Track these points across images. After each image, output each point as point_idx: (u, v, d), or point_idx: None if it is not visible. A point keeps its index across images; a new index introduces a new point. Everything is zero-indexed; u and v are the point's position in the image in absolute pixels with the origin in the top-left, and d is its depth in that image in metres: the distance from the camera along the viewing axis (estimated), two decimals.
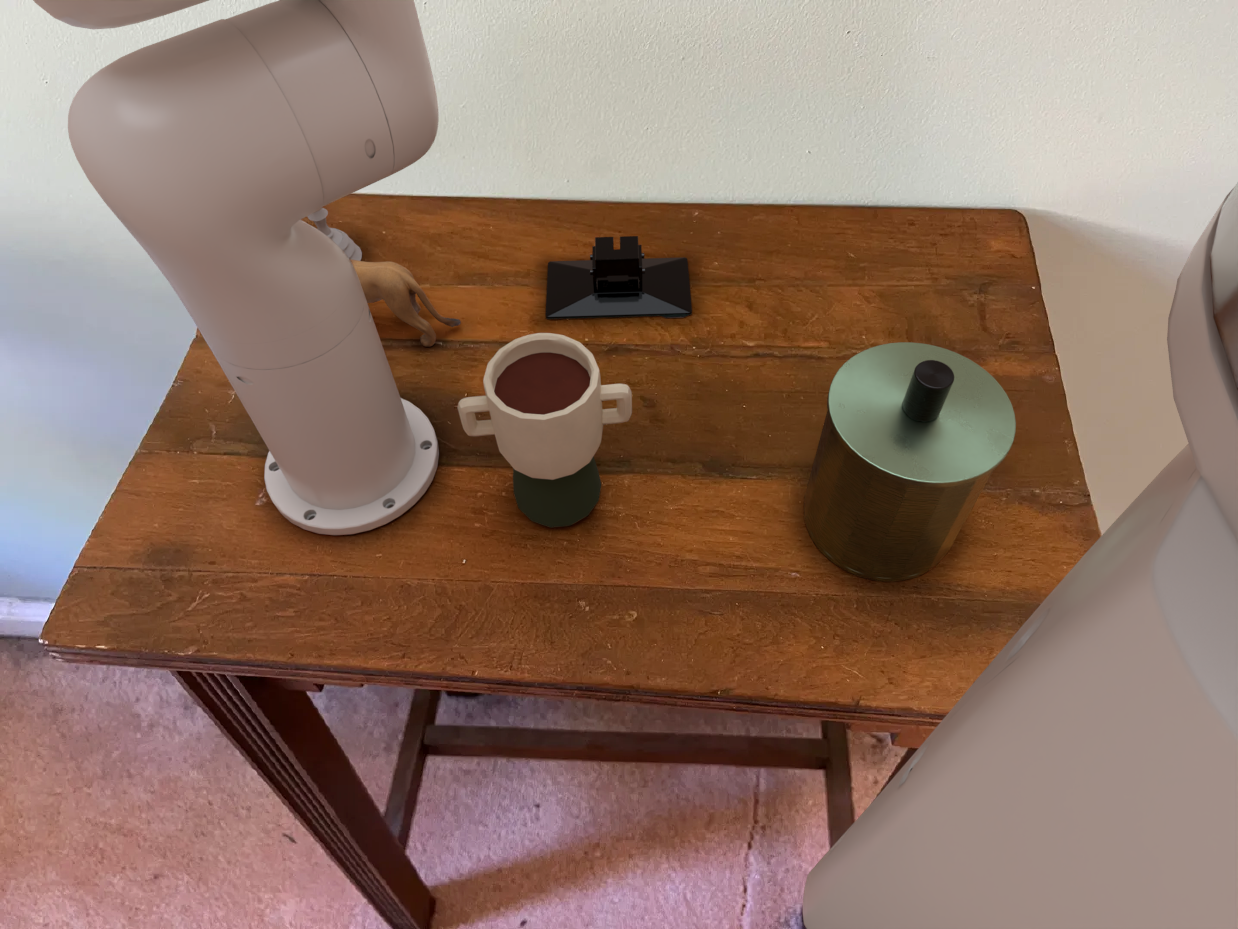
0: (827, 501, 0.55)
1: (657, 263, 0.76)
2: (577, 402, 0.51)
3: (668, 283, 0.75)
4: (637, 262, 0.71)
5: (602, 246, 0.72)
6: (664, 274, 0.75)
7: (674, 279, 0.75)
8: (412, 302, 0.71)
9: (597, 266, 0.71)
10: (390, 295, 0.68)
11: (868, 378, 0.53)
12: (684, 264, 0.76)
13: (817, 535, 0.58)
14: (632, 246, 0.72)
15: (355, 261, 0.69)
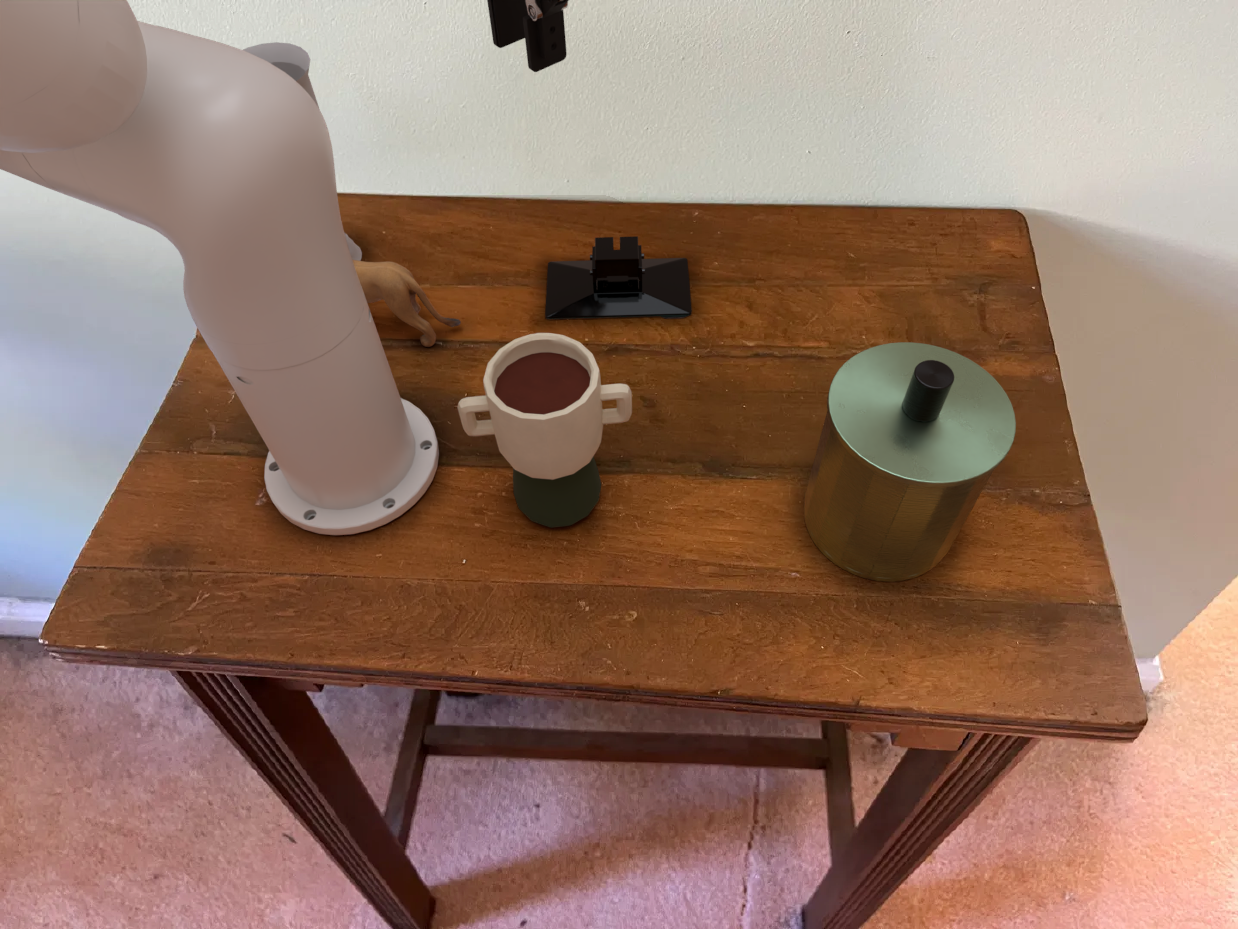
0: (827, 501, 0.55)
1: (657, 263, 0.76)
2: (577, 402, 0.51)
3: (668, 283, 0.75)
4: (637, 262, 0.71)
5: (602, 246, 0.72)
6: (664, 274, 0.75)
7: (674, 279, 0.75)
8: (412, 302, 0.71)
9: (597, 266, 0.71)
10: (390, 295, 0.68)
11: (868, 378, 0.53)
12: (684, 264, 0.76)
13: (817, 535, 0.58)
14: (632, 246, 0.72)
15: (355, 261, 0.69)
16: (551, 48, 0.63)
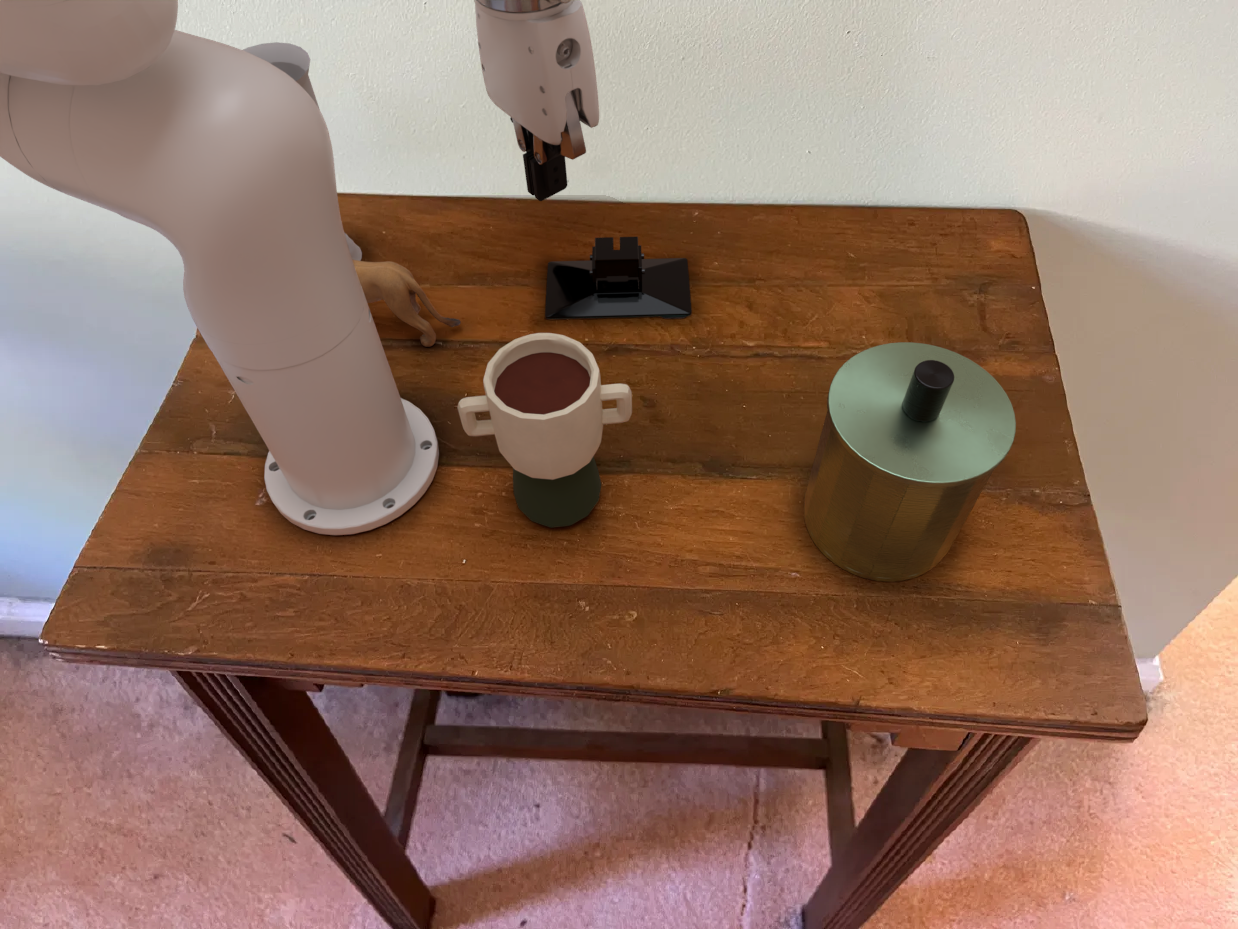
0: (827, 501, 0.55)
1: (657, 263, 0.76)
2: (577, 402, 0.51)
3: (668, 283, 0.75)
4: (637, 263, 0.71)
5: (602, 246, 0.72)
6: (664, 275, 0.75)
7: (674, 280, 0.75)
8: (412, 302, 0.71)
9: (597, 266, 0.71)
10: (390, 295, 0.68)
11: (868, 378, 0.53)
12: (684, 265, 0.76)
13: (817, 535, 0.58)
14: (631, 246, 0.72)
15: (355, 261, 0.69)
16: (554, 183, 0.74)
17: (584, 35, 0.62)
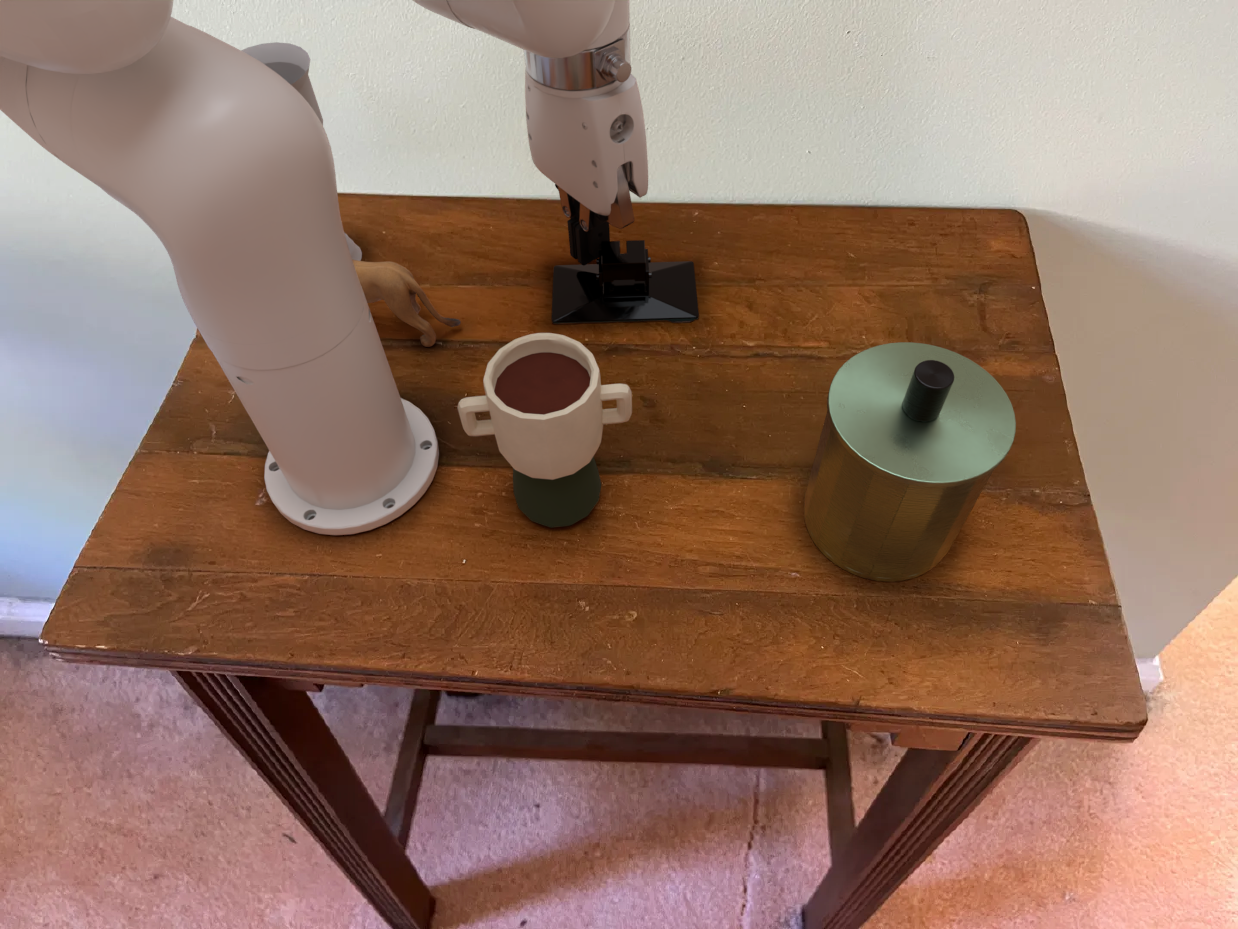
0: (827, 501, 0.55)
1: (664, 267, 0.76)
2: (577, 402, 0.51)
3: (674, 287, 0.74)
4: (644, 266, 0.71)
5: (609, 250, 0.71)
6: (670, 278, 0.75)
7: (680, 283, 0.75)
8: (412, 302, 0.71)
9: (603, 270, 0.71)
10: (390, 295, 0.68)
11: (868, 378, 0.53)
12: (690, 268, 0.76)
13: (817, 535, 0.58)
14: (638, 250, 0.71)
15: (355, 261, 0.69)
16: (598, 248, 0.74)
17: (637, 111, 0.62)
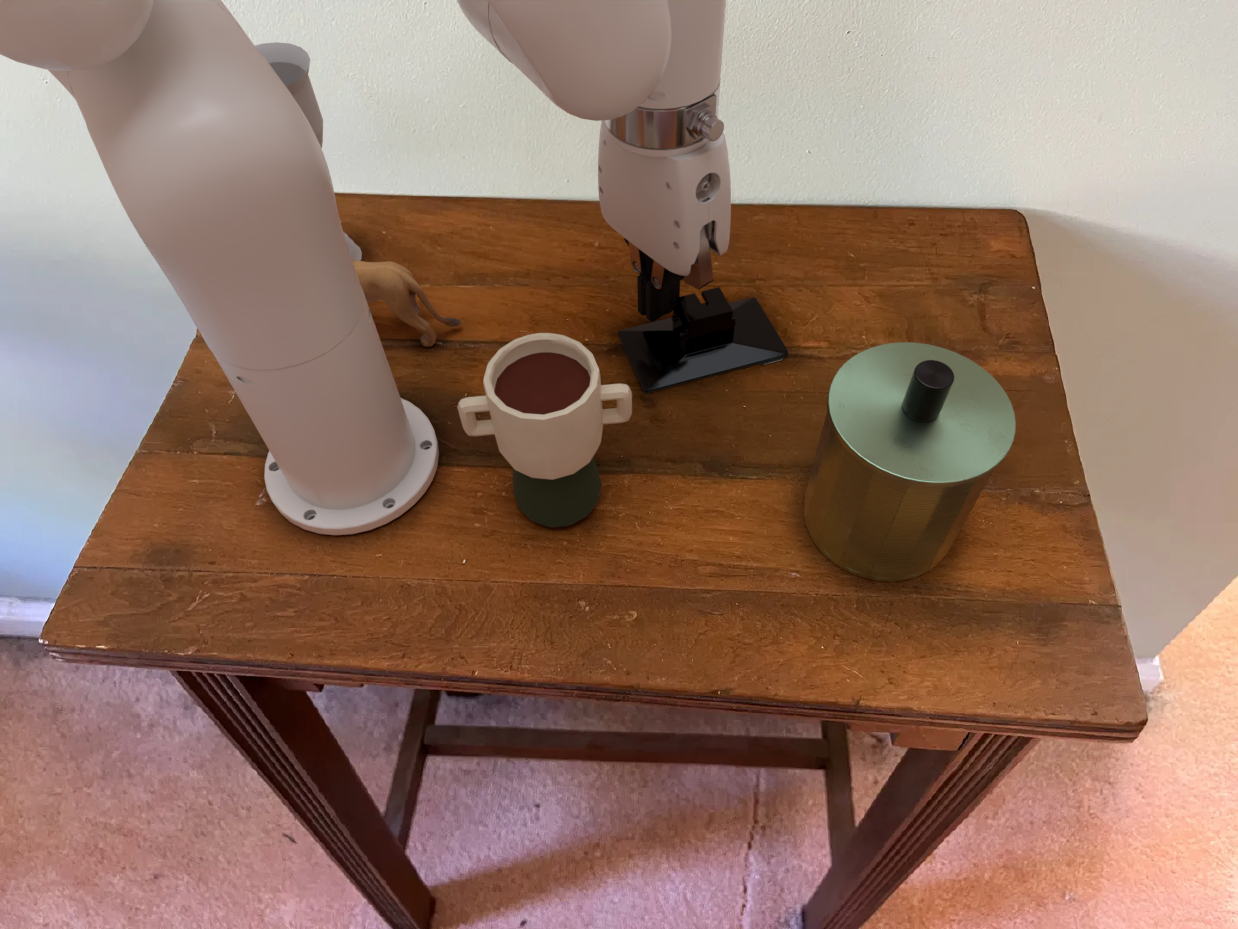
0: (827, 501, 0.55)
1: None
2: (577, 402, 0.51)
3: (751, 327, 0.71)
4: (731, 314, 0.67)
5: (689, 305, 0.67)
6: (743, 319, 0.72)
7: (755, 322, 0.72)
8: (412, 302, 0.71)
9: (691, 327, 0.67)
10: (390, 295, 0.68)
11: (868, 378, 0.53)
12: (756, 304, 0.73)
13: (817, 535, 0.58)
14: (719, 299, 0.68)
15: (355, 261, 0.69)
16: (669, 304, 0.69)
17: (725, 168, 0.58)
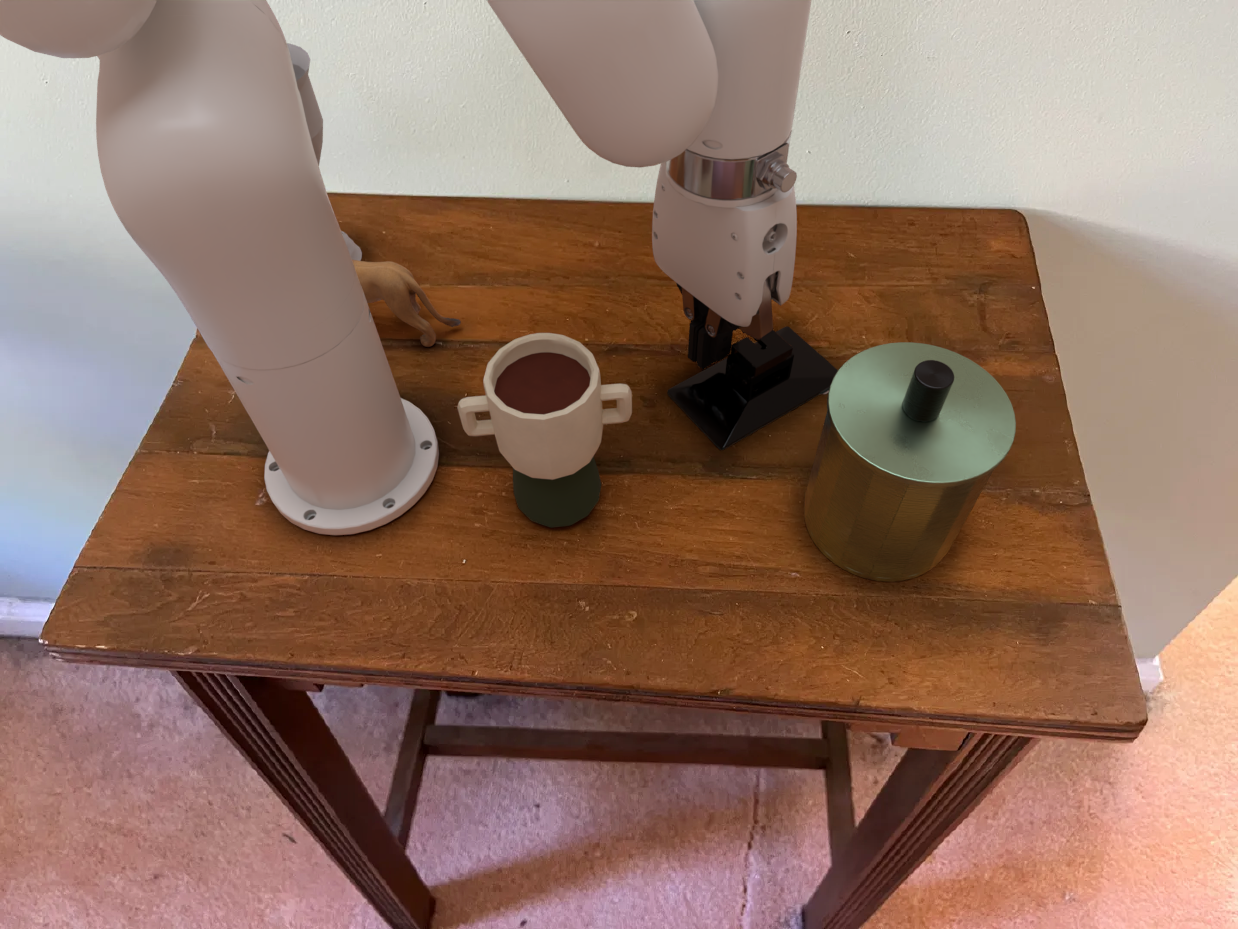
0: (827, 501, 0.55)
1: None
2: (577, 402, 0.51)
3: (799, 358, 0.69)
4: (791, 352, 0.65)
5: (748, 350, 0.64)
6: None
7: (800, 352, 0.70)
8: (412, 302, 0.71)
9: (756, 373, 0.64)
10: (390, 295, 0.68)
11: (868, 378, 0.53)
12: (792, 333, 0.71)
13: (817, 535, 0.58)
14: (774, 338, 0.65)
15: (355, 261, 0.69)
16: (721, 352, 0.66)
17: (793, 218, 0.55)
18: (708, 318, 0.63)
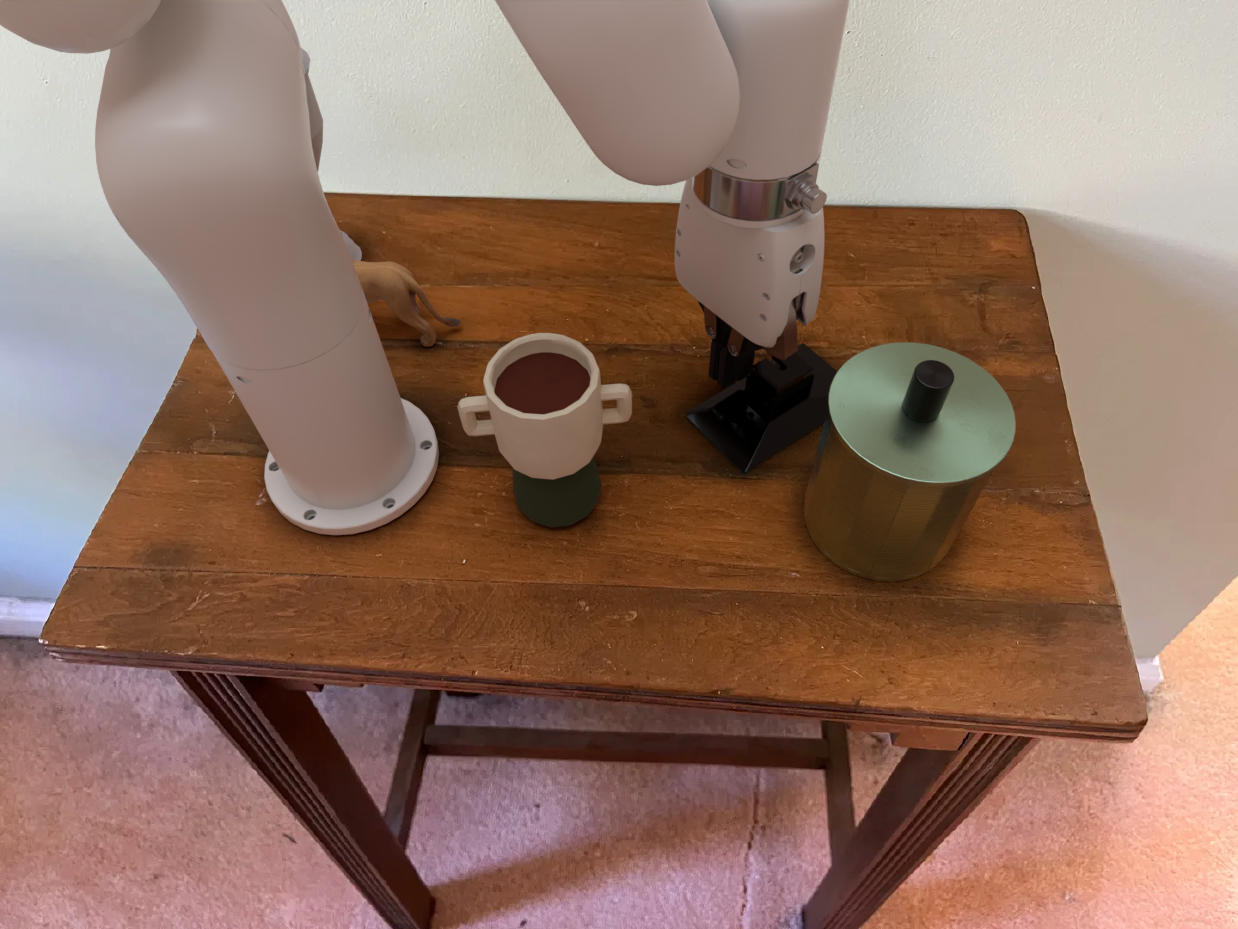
0: (827, 501, 0.55)
1: None
2: (577, 402, 0.51)
3: (818, 377, 0.68)
4: (811, 371, 0.64)
5: (768, 372, 0.63)
6: None
7: (818, 370, 0.68)
8: (412, 302, 0.71)
9: (778, 395, 0.63)
10: (390, 295, 0.68)
11: (868, 378, 0.53)
12: (808, 350, 0.70)
13: (817, 535, 0.58)
14: (794, 358, 0.64)
15: (355, 261, 0.69)
16: (743, 371, 0.65)
17: (821, 238, 0.53)
18: (731, 337, 0.62)
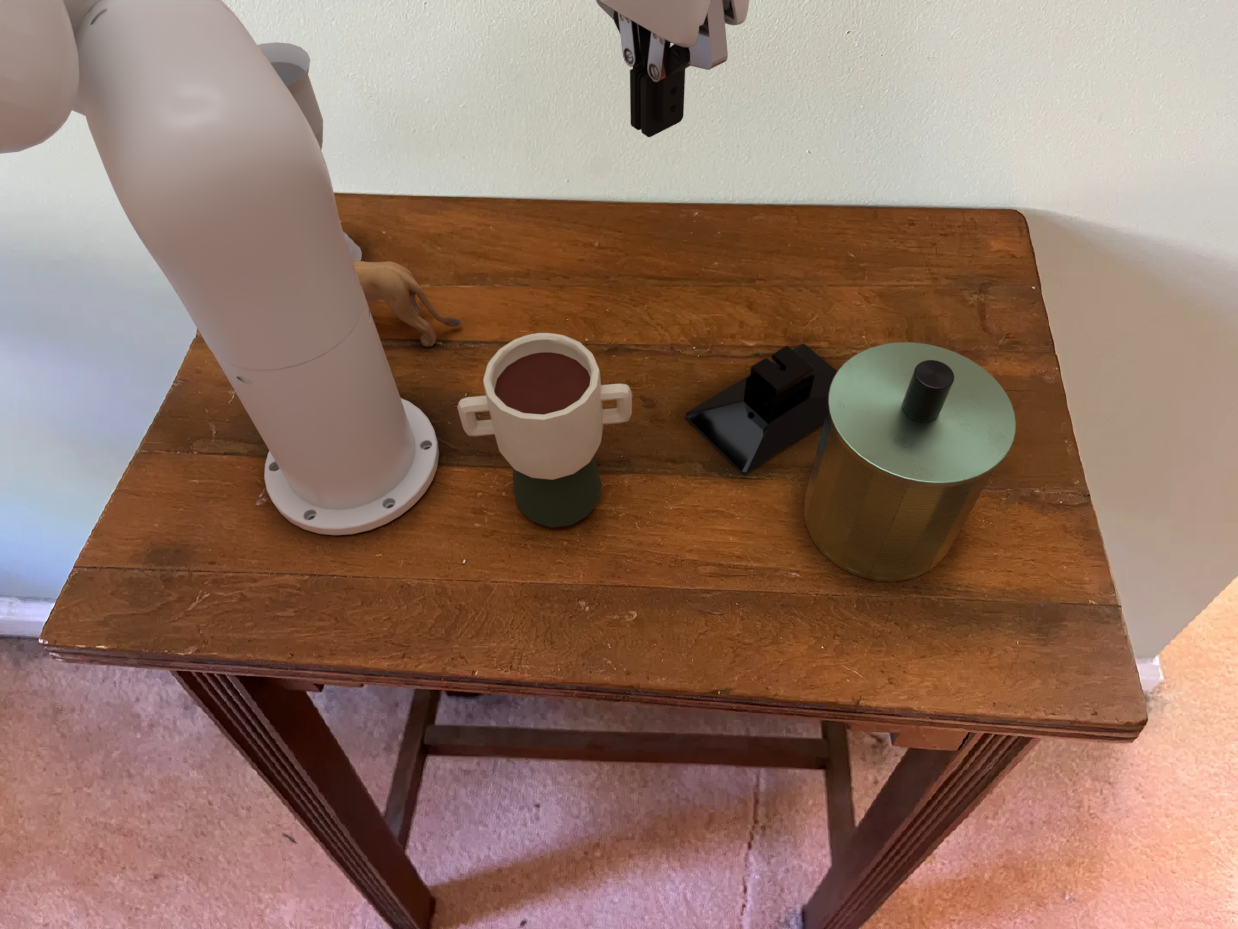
0: (827, 501, 0.55)
1: None
2: (577, 402, 0.51)
3: (818, 377, 0.68)
4: (812, 372, 0.63)
5: (768, 372, 0.63)
6: None
7: (818, 370, 0.68)
8: (412, 302, 0.71)
9: (778, 395, 0.63)
10: (390, 295, 0.68)
11: (868, 378, 0.53)
12: (809, 351, 0.70)
13: (817, 535, 0.58)
14: (794, 358, 0.64)
15: (355, 261, 0.69)
16: (670, 111, 0.55)
17: None
18: (650, 54, 0.51)
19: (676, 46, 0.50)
